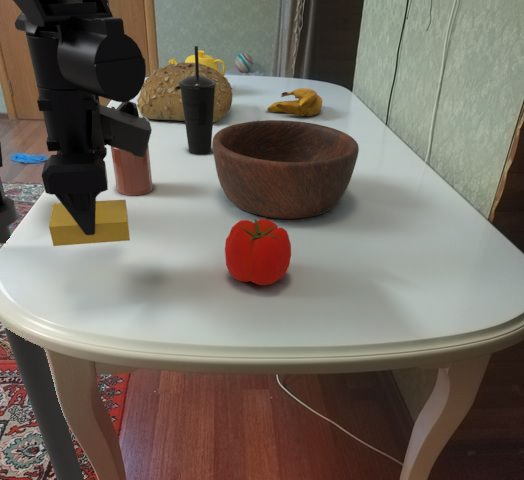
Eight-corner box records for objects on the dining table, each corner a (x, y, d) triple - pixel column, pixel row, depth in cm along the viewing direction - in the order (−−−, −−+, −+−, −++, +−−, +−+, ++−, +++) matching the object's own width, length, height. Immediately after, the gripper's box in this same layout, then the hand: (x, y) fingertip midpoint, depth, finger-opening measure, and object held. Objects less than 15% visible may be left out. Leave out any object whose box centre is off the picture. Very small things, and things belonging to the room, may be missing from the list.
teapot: (208, 85, 162) (207, 45, 155) (232, 94, 154) (232, 52, 147) (169, 90, 155) (165, 48, 148) (191, 100, 147) (189, 56, 140)
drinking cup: (223, 149, 113) (222, 46, 100) (206, 159, 107) (203, 51, 95) (194, 143, 115) (189, 41, 103) (175, 152, 110) (168, 46, 97)
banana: (316, 103, 149) (318, 82, 145) (326, 121, 134) (329, 98, 131) (264, 102, 148) (265, 80, 144) (269, 120, 133) (270, 96, 130)
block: (53, 246, 61) (48, 227, 59) (57, 221, 66) (53, 203, 64) (129, 240, 63) (127, 221, 61) (127, 217, 68) (125, 199, 66)
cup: (117, 196, 90) (110, 150, 85) (116, 183, 95) (110, 139, 90) (153, 194, 91) (149, 149, 86) (151, 181, 96) (146, 137, 91)
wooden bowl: (329, 172, 104) (335, 119, 98) (369, 224, 85) (380, 162, 78) (207, 174, 100) (206, 119, 94) (221, 230, 81) (220, 166, 75)
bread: (235, 106, 143) (235, 58, 136) (229, 127, 126) (228, 73, 119) (149, 102, 143) (145, 53, 136) (132, 122, 126) (125, 68, 119)
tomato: (220, 263, 73) (219, 214, 68) (280, 259, 74) (283, 210, 70) (232, 299, 66) (232, 246, 61) (298, 292, 67) (302, 241, 63)
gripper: (148, 105, 48) (162, 251, 58) (137, 67, 62) (150, 190, 72) (24, 107, 46) (60, 259, 56) (42, 67, 60) (68, 194, 70)
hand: (90, 221), depth 64 cm, fingers closed on block, 7 cm apart
